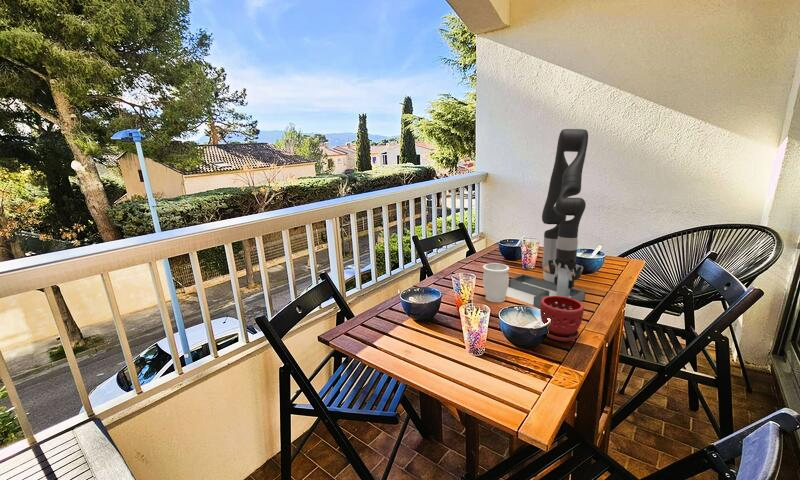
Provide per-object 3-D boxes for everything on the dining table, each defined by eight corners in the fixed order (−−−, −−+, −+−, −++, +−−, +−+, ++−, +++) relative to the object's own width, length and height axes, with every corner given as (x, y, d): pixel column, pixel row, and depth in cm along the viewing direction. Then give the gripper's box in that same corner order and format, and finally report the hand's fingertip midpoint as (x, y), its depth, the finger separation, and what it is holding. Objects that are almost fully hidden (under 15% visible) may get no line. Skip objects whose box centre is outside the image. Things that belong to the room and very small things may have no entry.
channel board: (522, 282, 164) (522, 280, 163) (584, 300, 141) (584, 299, 141) (496, 293, 152) (496, 292, 152) (559, 316, 130) (559, 314, 129)
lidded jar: (562, 280, 164) (563, 261, 162) (570, 288, 154) (572, 269, 152) (539, 280, 165) (540, 261, 163) (546, 288, 155) (547, 269, 153)
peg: (560, 291, 146) (562, 265, 143) (571, 295, 142) (574, 267, 139) (554, 294, 143) (556, 267, 140) (565, 298, 139) (568, 270, 136)
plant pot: (586, 345, 110) (589, 311, 107) (542, 343, 112) (545, 309, 109) (574, 326, 122) (577, 295, 119) (535, 323, 125) (537, 293, 122)
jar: (479, 302, 144) (480, 269, 140) (485, 293, 153) (486, 261, 149) (505, 306, 139) (506, 272, 135) (510, 297, 148) (511, 264, 144)
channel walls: (522, 280, 163) (522, 273, 163) (584, 299, 141) (585, 291, 140) (496, 292, 152) (496, 284, 151) (559, 314, 129) (560, 305, 128)
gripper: (589, 248, 134) (585, 288, 138) (554, 242, 145) (551, 279, 149) (580, 252, 129) (576, 294, 134) (545, 245, 141) (542, 284, 145)
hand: (563, 286), depth 141 cm, fingers closed on peg, 5 cm apart
